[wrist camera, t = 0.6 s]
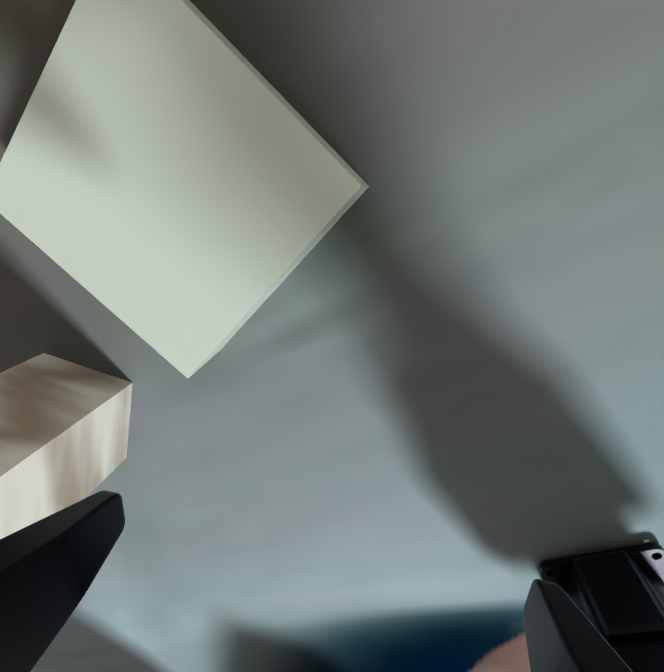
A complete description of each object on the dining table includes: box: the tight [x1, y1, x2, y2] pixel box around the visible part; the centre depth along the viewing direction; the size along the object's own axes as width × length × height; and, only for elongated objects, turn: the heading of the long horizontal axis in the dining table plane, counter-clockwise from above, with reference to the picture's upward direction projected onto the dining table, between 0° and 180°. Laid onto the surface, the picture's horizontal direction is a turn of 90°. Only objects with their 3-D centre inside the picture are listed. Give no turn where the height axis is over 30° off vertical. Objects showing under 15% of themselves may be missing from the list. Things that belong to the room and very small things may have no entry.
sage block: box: [0, 0, 369, 378], centre depth 18 cm, size 12×12×4 cm
